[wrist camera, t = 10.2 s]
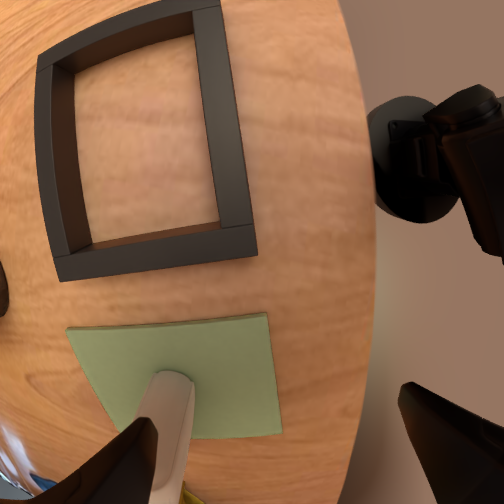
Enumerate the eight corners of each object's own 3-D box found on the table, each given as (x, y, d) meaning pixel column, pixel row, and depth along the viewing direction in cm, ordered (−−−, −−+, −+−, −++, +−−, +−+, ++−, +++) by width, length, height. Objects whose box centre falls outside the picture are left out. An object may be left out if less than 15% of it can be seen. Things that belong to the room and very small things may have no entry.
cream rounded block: (191, 441, 24) (174, 540, 12) (152, 432, 23) (123, 526, 11) (201, 374, 21) (173, 508, 9) (150, 362, 21) (96, 484, 9)
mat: (266, 312, 20) (266, 315, 20) (282, 429, 24) (282, 433, 23) (67, 327, 21) (64, 330, 20) (121, 429, 24) (120, 433, 24)
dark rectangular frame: (222, 10, 14) (218, -13, 11) (256, 242, 19) (258, 255, 16) (59, 65, 15) (37, 55, 12) (81, 268, 19) (59, 282, 16)
